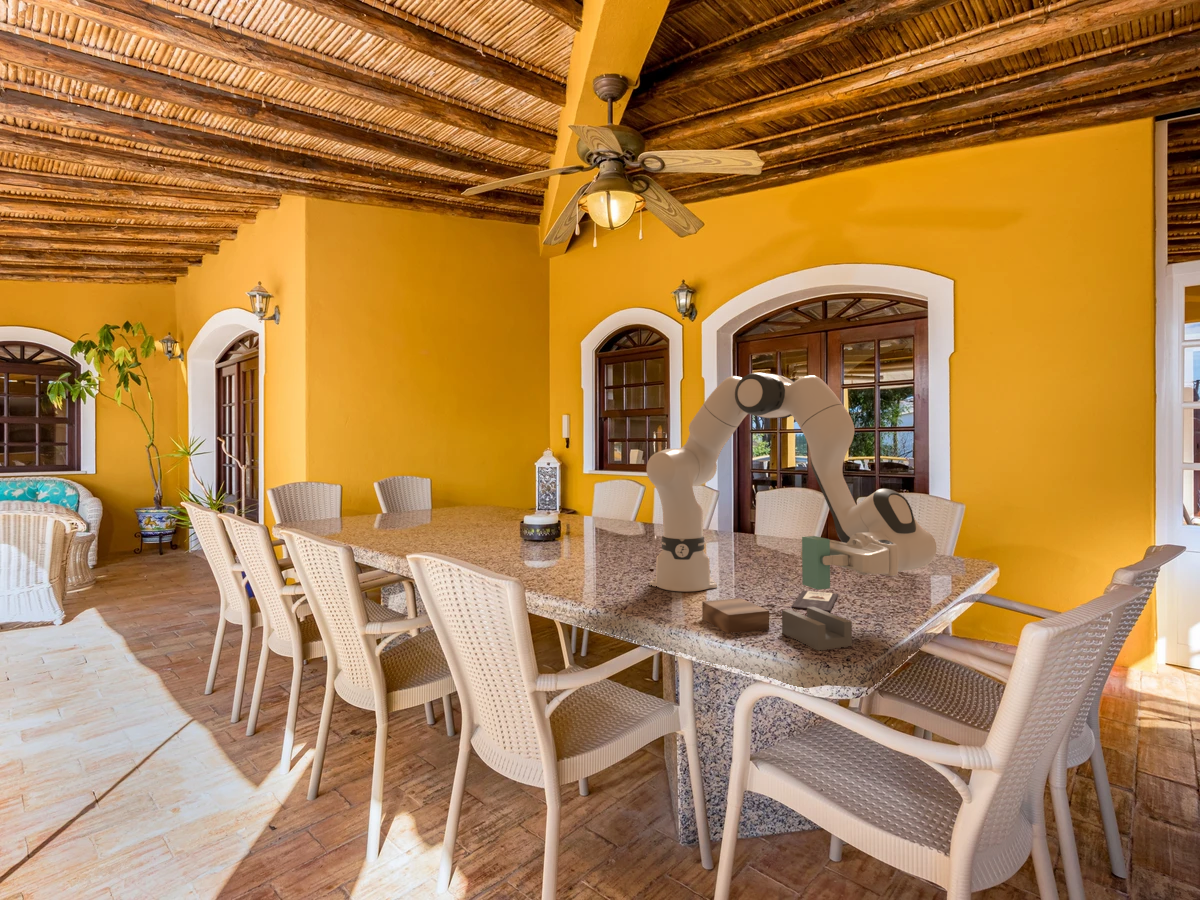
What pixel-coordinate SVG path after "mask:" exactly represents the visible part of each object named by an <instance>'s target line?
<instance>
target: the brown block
mask: <svg viewBox="0 0 1200 900" xmlns="http://www.w3.org/2000/svg"><path fill="white" fill-rule="evenodd" d="M701 604H702V607H701V608H702V609H701V610H702V611H701V613H702V620H703V621H706V623H707V622H708V623H709V624H711V625H713V626H714V627H716V628H717V629H719V630H721V631H723V632H725V633H727V635H728V634H729V635H730V634H738V633H747V632H748V633H749V632H754V631H755V632H756V631H765V630H766V631H767V630H770V610H768V609H766V608H763V607H762V606H758V604H755V603H752V602H750V601H748V600H746V599H744V598H742V597H738V598H727V599H715V600H707V601H706V600H705V601H704V600H703V601H702V603H701Z"/></svg>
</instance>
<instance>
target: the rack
mask: <svg viewBox="0 0 1200 900" xmlns="http://www.w3.org/2000/svg"><path fill="white" fill-rule="evenodd" d="M852 623H853V622H852V621H851V620H849V619H847V618H844V617H841V616H839V615H837V614H834V613H831V612H830V613H829V612H826V611H824V610H821V609H819V608H816V607H807V610H806V615H805V614H802V613H799V612H797V611H794V610H791V608H790V609H789V608H788V609H781V633H782V634H783V635H785V636H787V635H788V636H787V637H789V636H790V637H789V638H791V637H792V638H791V639H793V638H794V640H795V639H796V640H795V641H797V640H798V641H797V642H799V641H800V642H799V643H801V642H802V643H801V644H803V643H804V644H803V645H805V644H806V646H807V645H808V646H807V647H809V646H810V648H812V649H813V650H816V651H817V650H818V651H819V652H820V650H821V651H827V649H828V650H834V649H835V648H836V649H841V647H844V648H849V647H848V646H851V647H853V624H852Z"/></svg>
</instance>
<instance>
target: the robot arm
mask: <svg viewBox="0 0 1200 900" xmlns="http://www.w3.org/2000/svg"><path fill="white" fill-rule="evenodd" d="M747 415H751V416H755V417H756V416H757V417H760V418H761V417H762V418H765V419H776V418H777V419H785V418H790V417H793V419H794V420H795V422H796V423H797V425H798V427H799V428H800V430H801V432H802V433H803V436H804V438H805V440H806V442H807V446H808V449H809V454H810V455H809V456H810V466H811V469H812V472H813V474H814V476H815V480H816V481H817V483H818V485H819V488H820V490H821V492H822V495H823V497H824V499H825V503H826V504H827V506H828V509H829V511H830V513H831V516H832V519H833V523H834V528H835V531H836V534H837V537H838V538H839V540H840V541H839V540H834V539H830V555H821V556H820V563H821V564H823V565H830V566H837V567H840V568H845V569H848V570H852V571H855V572H856V573H857V574H860V575H863V576H867V575H874V576H875V575H881V576H887V577H896V576H898V573H901V572H908V571H909V572H910V571H914V570H919V569H922V568H925V567H926V566H928V565H930V564H931V563H932V562H933V560H934V559H935V557H936V554H937V542H936V539H935V537H934V535H932V534H931V532H929V531H927V530H926V529H925V528H923V527H922V526H921V525H920V523H918V521H917V520H916V519H915V516H914V513H913V509H912V506H911V505H910V503H909V501H908V500H907V498H906V497H905V496H904V495H902V494H901V493H900V492H898V491H895V490H893V489H890V488H879V489H877V490H876V491H874V492H873V493H871V494H869V495H868V496H867V497H865V498H864V499H862V501H860V502H859V503H857V504H856V502H855V499H854V497H853V495H852V493H851V491H850V489H849V486H848V484H847V482H846V480H845V477H844V473H843V466H844V462H845V458H846V455H847V453H848V451H849V450H850V449H849V448H850V446H851V445H852V443H853V440H854V437H855V436H854V435H855V425H854V421H853V419H852V417H851V415H850V413H849V412H848V411H847V409H846V407H845V406H844V404H843V403H842V402H841V400H840V398H839V397H838V396H837V394H836V393H835V392H834V391H833V390H832V388H830V387H829V385H828V384H827V383H826V382H825V381H824V380H823V379H821V377H818V376H816V375H805V376H802V377H800V378H798V379H797V380H794V379H792V378H790V377H786V376H783V375H780V374H775V373H765V372H753V373H749V374H746V375H745V376H743V377H741V376H737V375H731V376H728V377H726V378H725V379H723V381H722V382H720V383H719V385H718V386H717V387H715V389H714V390H713V391H712V392H711V393H710V395H709V396H708V397H707V398H706V399H705V401H704V403H703V404H702V405H701V407H700V408H699V410H698V411H697V412H696V414H695V415H694V417H693V418H692V420H691V421H690V423H689V426H688V431H689V435H688V438H687V440H686V443H685V444H684V445H683V446H682V447H680V448H666V449H663V450H659V451H657V452H654V453H653V454H652V455H651V456H650V457H649V459H648V461H647V463H646V475H647V479H649V481H650V482H651V483H652V485H653V486H654V487H655V488H656V490H657V493H658V496H659V499H660V503H661V508H662V525H663V526H662V529H663V531H662V533H663V535H662V536H661V542H660V543H661V549H662V550H661V551H660V553H659V554H658V555H657V556H656V562H655V563H656V564H655V565H656V568H655V577H654V578H653V579H651V580H650V581H649V586H651V585H652V587H656V586H657V587H656V588H659V589H662V590H666V591H672V592H698V591H703V590H708V589H715V588H718V583H717V582H716V581H715V580H714V579H713V578H712V577H711V568H710V567H711V566H710V564H711V562H710V557H709V556H708V554H706V553H705V544H706V543H705V537H704V536H703V535H704V534H703V533H704V531H703V528H704V527H703V525H704V524H703V522H704V521H703V515H704V514H703V509H702V507H701V505H700V504H699V503H698V501H697V499H696V496H695V492H694V487H698V486H701V485H705V484H706V483H708V482H709V481H711V480H712V479H713V478H714V477H715V475H716V473H717V470H718V469H717V468H718V467H717V466H718V464H717V461H718V459H719V456H720V455H721V452H722V450H723V448H724V447H725V445H726V444H727V442H728V441H729V440H730V438H732V435H733V434H734V433H735V432H736V430H737V429H738V427H739V426H740V425H741V423H742V421H743V420H744V419H745V418H746V417H747ZM800 558H801V559H802V550H801V551H800Z"/></svg>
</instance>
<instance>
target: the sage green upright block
mask: <svg viewBox="0 0 1200 900" xmlns="http://www.w3.org/2000/svg"><path fill="white" fill-rule="evenodd" d="M830 540H831V539H829V538H825V537H820V536H815V535H809V536H801V551H802V558H801V563H802V564H801V567H802V571H801V573H802V577H801V578H802V585H803V586H805V587H807V588H808V587H809V588H811V589H815V590H818V591H819V590H828V589H831V565H823V564H821V563H820V556H821V555H830Z"/></svg>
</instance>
